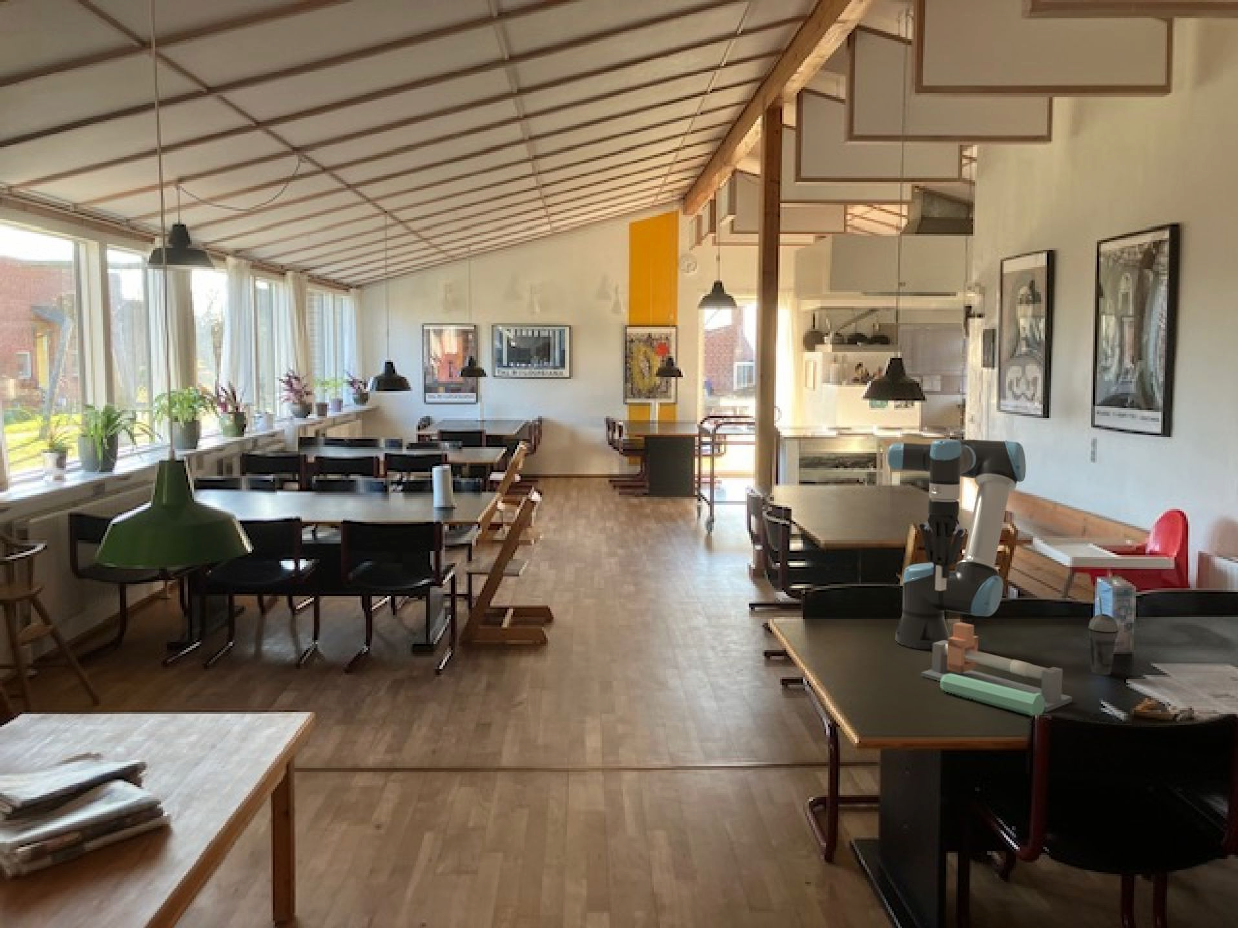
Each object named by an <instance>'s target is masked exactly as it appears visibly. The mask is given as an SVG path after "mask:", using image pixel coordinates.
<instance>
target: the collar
mask: <svg viewBox="0 0 1238 928" xmlns="http://www.w3.org/2000/svg"><path fill="white" fill-rule="evenodd" d="M974 632H975V625H974V624H969V623H965V622H956V623H953V624H952V636H949V637H950V638H948V652H947V670H951V671H954V672H958V673H963V672H966V671H969V670H974V669H977V668H978V663H974V662H970V661H967V660H965V648H967V649H971V650H975V651H979V636H977V635H975V633H974Z"/></svg>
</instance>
